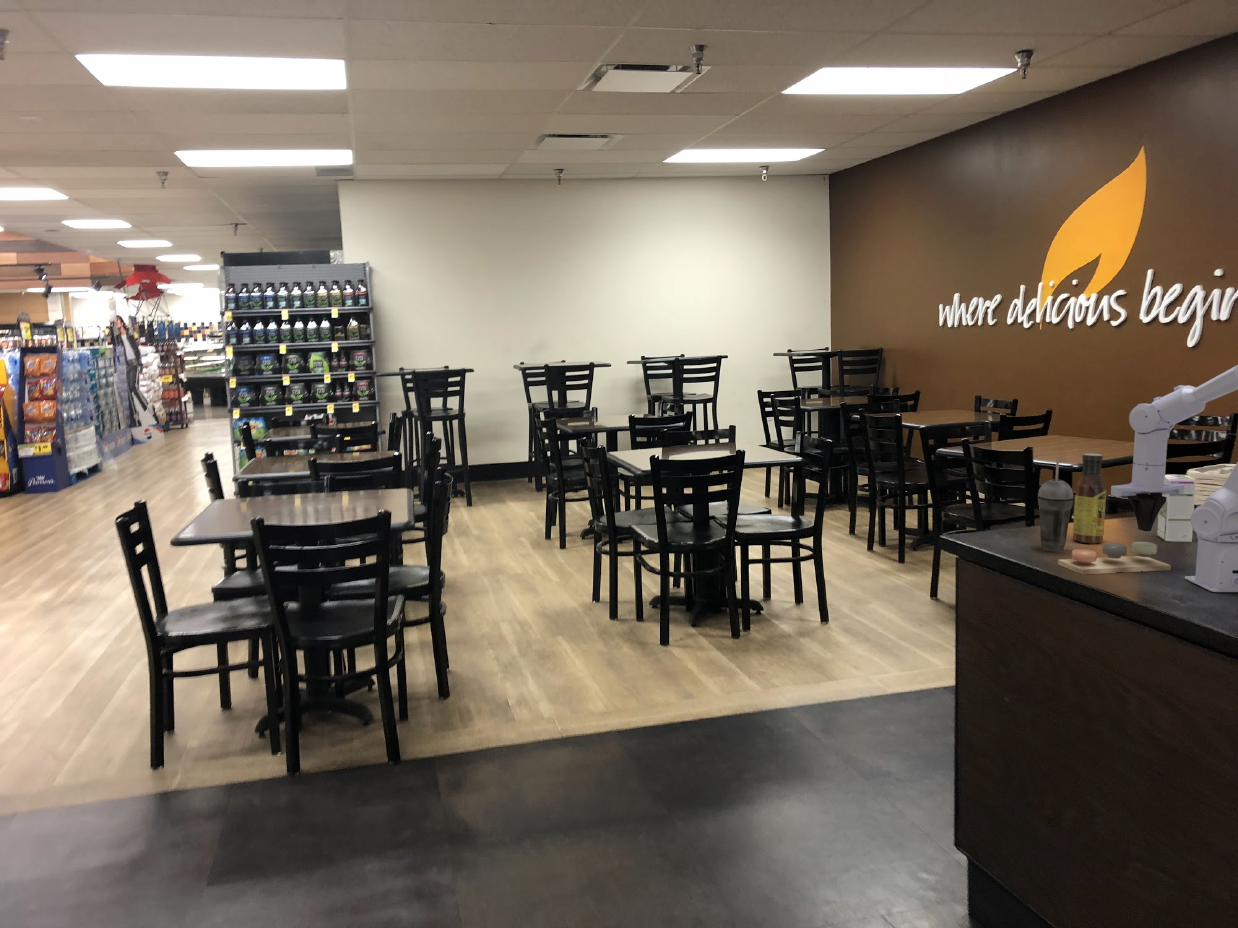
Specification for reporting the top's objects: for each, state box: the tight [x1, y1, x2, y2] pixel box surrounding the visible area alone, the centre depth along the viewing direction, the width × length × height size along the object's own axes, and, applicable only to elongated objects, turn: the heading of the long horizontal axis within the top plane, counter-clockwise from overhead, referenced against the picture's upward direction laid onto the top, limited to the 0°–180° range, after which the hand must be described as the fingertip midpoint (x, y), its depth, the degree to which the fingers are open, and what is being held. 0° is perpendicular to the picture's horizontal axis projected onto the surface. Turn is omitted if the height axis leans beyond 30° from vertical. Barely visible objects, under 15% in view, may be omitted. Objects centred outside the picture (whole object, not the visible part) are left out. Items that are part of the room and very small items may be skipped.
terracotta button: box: [1071, 548, 1098, 565], centre depth 187 cm, size 4×4×2 cm
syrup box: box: [1156, 473, 1197, 543], centre depth 211 cm, size 6×6×14 cm
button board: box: [1057, 555, 1172, 576], centre depth 189 cm, size 19×8×1 cm, turn 97°
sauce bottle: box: [1072, 453, 1107, 544], centre depth 210 cm, size 7×6×20 cm
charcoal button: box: [1101, 542, 1128, 559], centre depth 188 cm, size 4×4×2 cm
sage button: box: [1131, 541, 1158, 558], centre depth 189 cm, size 4×4×2 cm
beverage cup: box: [1037, 458, 1075, 553], centre depth 202 cm, size 7×7×20 cm
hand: (1144, 530), depth 188 cm, fingers closed
